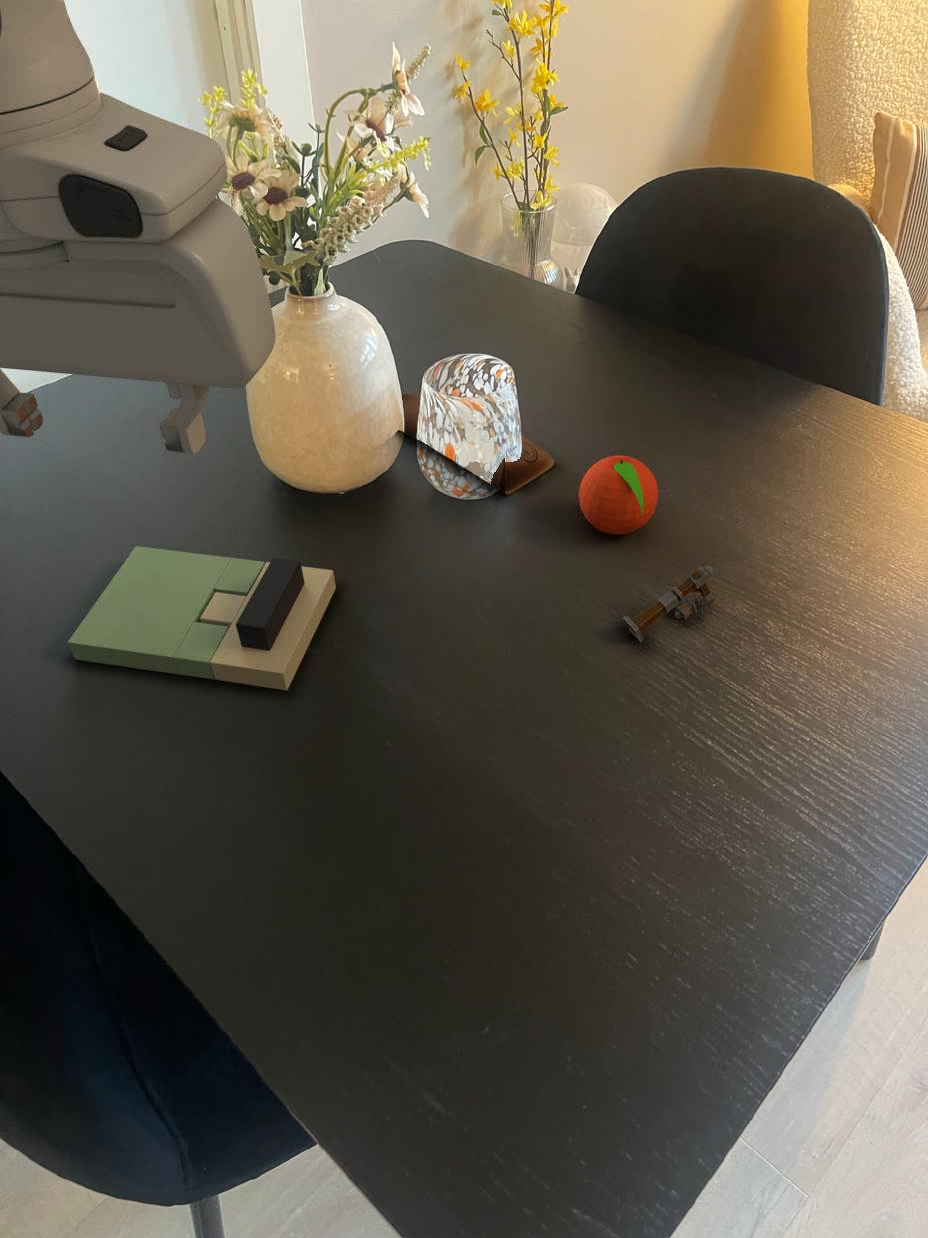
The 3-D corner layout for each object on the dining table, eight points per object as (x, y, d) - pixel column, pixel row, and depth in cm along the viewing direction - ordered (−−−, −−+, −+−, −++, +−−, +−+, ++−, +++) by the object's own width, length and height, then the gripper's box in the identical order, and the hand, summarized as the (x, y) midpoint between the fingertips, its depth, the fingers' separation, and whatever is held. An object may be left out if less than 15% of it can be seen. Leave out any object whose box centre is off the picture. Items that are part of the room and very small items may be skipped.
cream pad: (287, 691, 73) (277, 650, 70) (181, 674, 75) (167, 634, 72) (336, 587, 82) (329, 547, 78) (240, 575, 83) (230, 534, 80)
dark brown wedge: (563, 458, 93) (540, 422, 88) (519, 515, 93) (494, 482, 87) (439, 392, 103) (411, 355, 97) (399, 443, 102) (369, 409, 97)
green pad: (214, 679, 74) (208, 662, 73) (75, 659, 76) (67, 642, 75) (268, 579, 83) (264, 561, 81) (141, 563, 85) (135, 545, 83)
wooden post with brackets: (727, 599, 78) (716, 568, 74) (649, 658, 78) (634, 629, 74) (713, 586, 79) (702, 555, 75) (636, 644, 79) (621, 615, 75)
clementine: (673, 546, 84) (684, 480, 79) (602, 565, 82) (608, 499, 78) (631, 495, 90) (639, 431, 85) (564, 513, 88) (567, 448, 83)
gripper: (-254, 178, 40) (-106, 453, 50) (198, 201, 36) (263, 493, 46) (-154, 129, 44) (-36, 390, 54) (257, 145, 41) (305, 422, 51)
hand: (104, 438), depth 50 cm, fingers open, 8 cm apart
